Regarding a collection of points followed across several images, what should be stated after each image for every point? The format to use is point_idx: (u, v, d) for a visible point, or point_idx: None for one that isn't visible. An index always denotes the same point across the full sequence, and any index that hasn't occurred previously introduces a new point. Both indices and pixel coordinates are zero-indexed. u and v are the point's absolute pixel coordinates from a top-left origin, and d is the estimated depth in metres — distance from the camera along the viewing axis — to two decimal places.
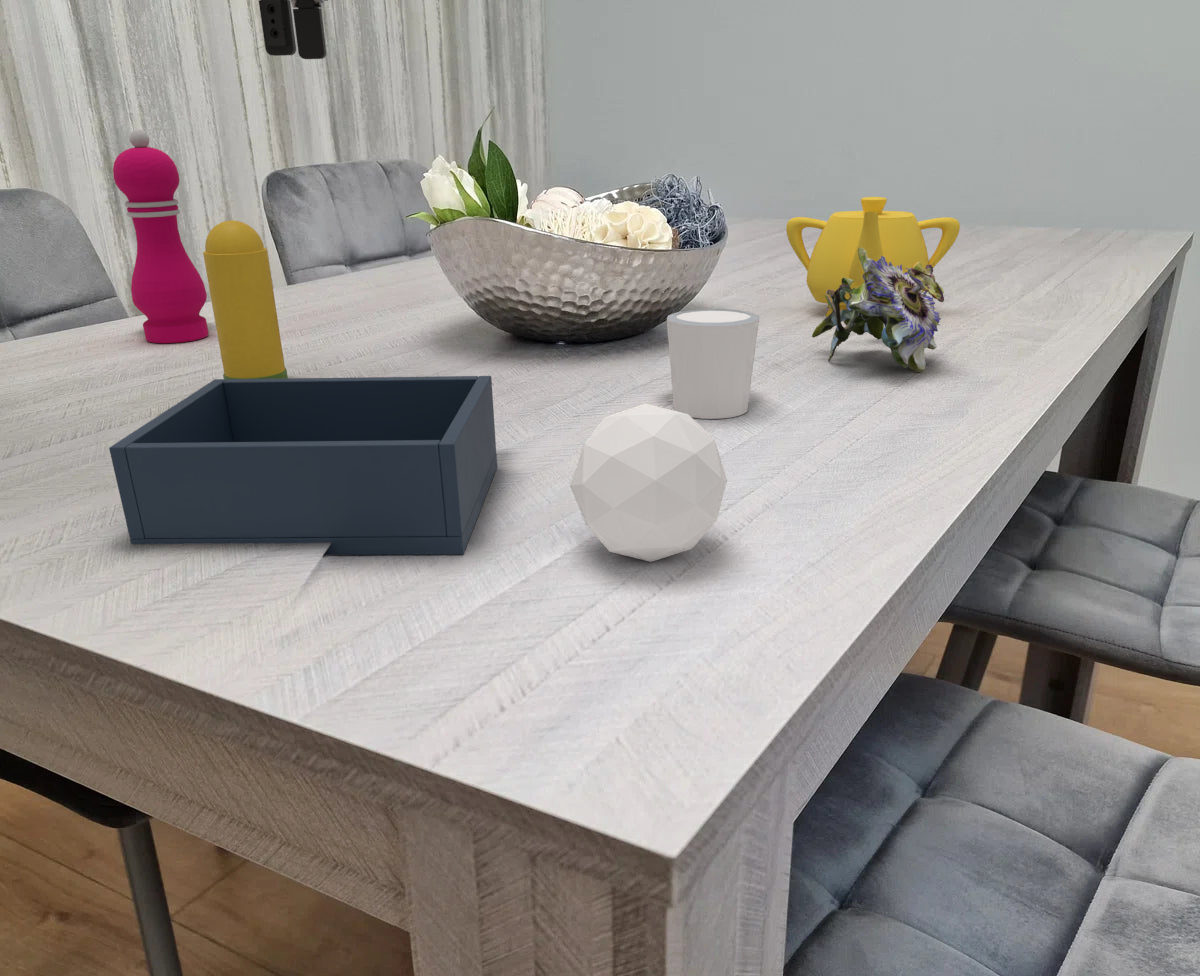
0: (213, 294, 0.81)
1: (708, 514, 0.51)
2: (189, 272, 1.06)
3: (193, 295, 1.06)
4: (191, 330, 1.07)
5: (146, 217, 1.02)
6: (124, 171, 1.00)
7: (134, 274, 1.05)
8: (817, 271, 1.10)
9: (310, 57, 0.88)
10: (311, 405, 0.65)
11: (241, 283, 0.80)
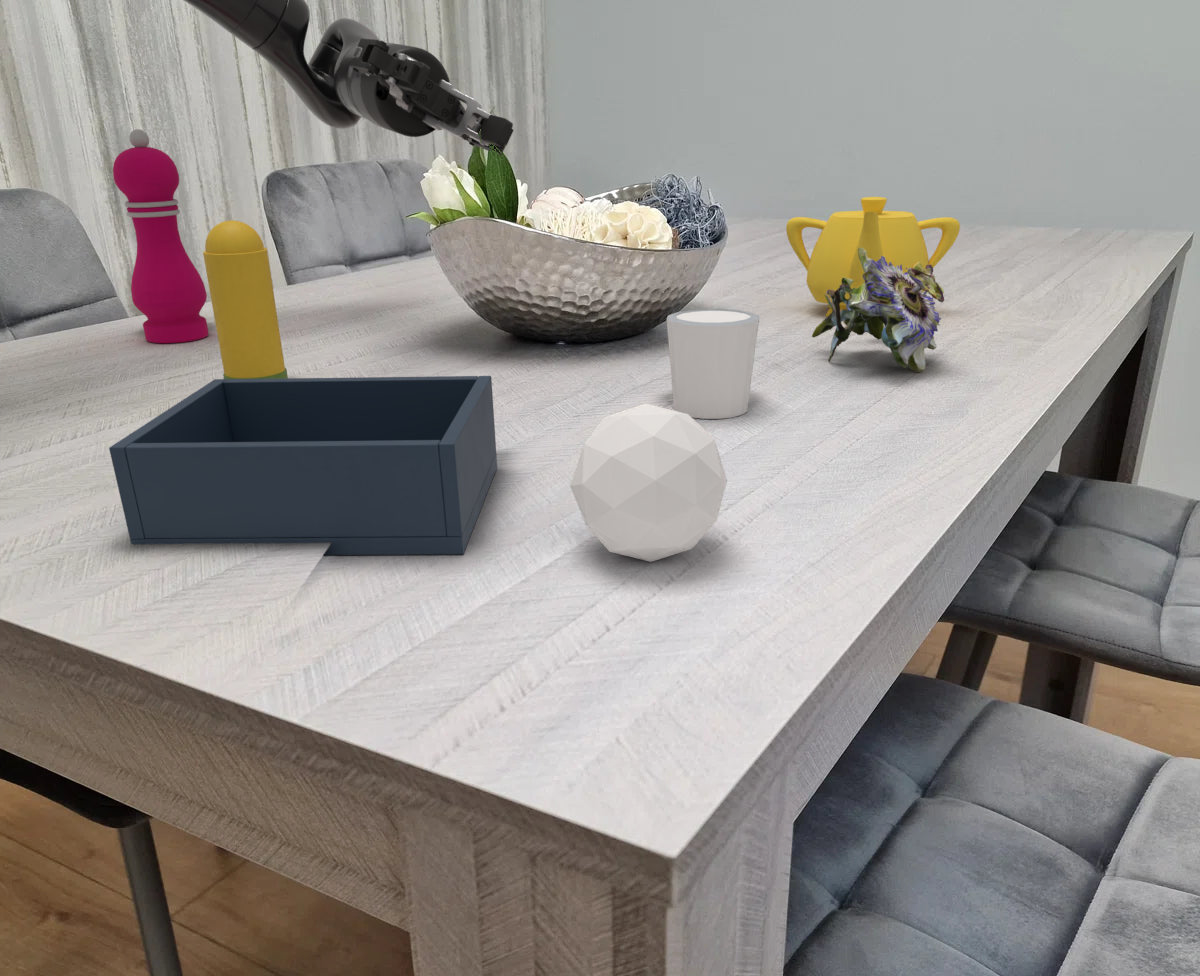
0: (213, 294, 0.81)
1: (708, 514, 0.51)
2: (189, 272, 1.06)
3: (193, 295, 1.06)
4: (191, 330, 1.07)
5: (146, 217, 1.02)
6: (124, 170, 1.00)
7: (134, 274, 1.05)
8: (817, 271, 1.10)
9: (501, 132, 0.90)
10: (311, 405, 0.65)
11: (241, 283, 0.80)
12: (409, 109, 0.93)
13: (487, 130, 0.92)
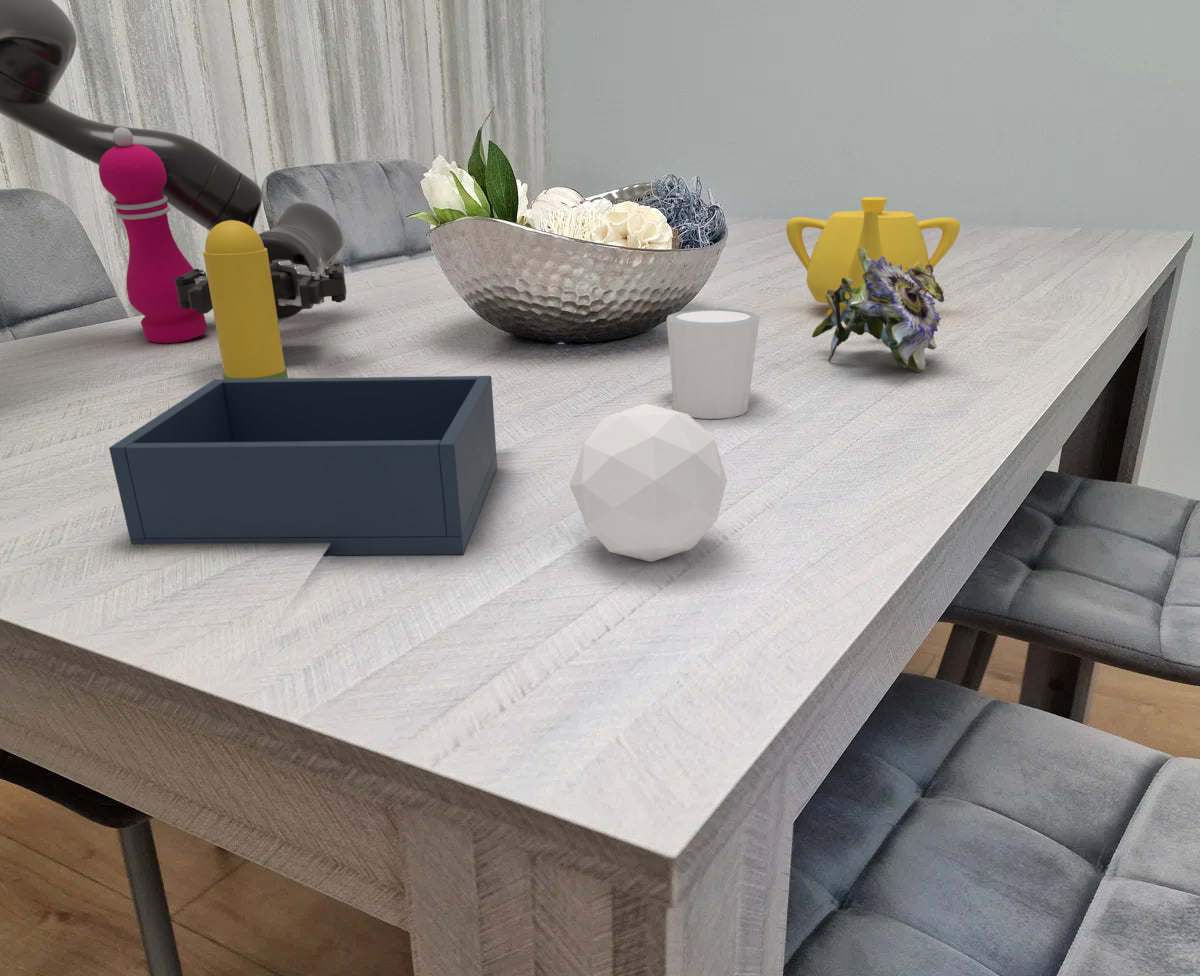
0: (213, 294, 0.81)
1: (708, 514, 0.51)
2: (183, 271, 1.05)
3: None
4: (190, 328, 1.07)
5: (136, 219, 1.01)
6: (110, 174, 0.98)
7: (129, 275, 1.04)
8: (817, 271, 1.10)
9: (300, 297, 0.87)
10: (311, 405, 0.65)
11: (241, 283, 0.80)
12: None
13: None
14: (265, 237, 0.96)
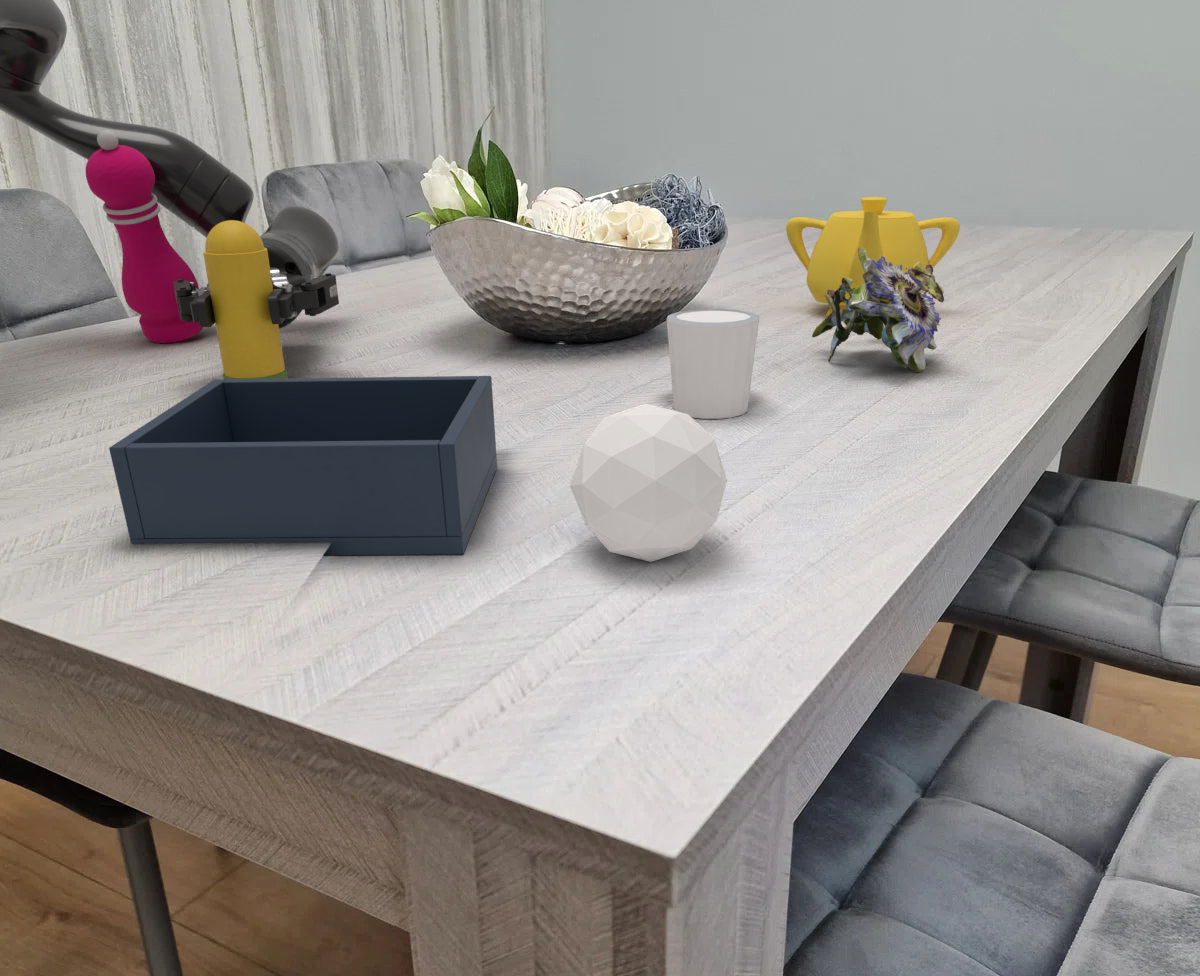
0: (213, 294, 0.81)
1: (708, 514, 0.51)
2: (178, 271, 1.04)
3: None
4: (189, 327, 1.07)
5: (128, 224, 0.99)
6: (98, 181, 0.96)
7: (124, 277, 1.03)
8: (817, 271, 1.10)
9: (270, 312, 0.81)
10: (311, 405, 0.65)
11: (241, 284, 0.80)
12: None
13: None
14: None
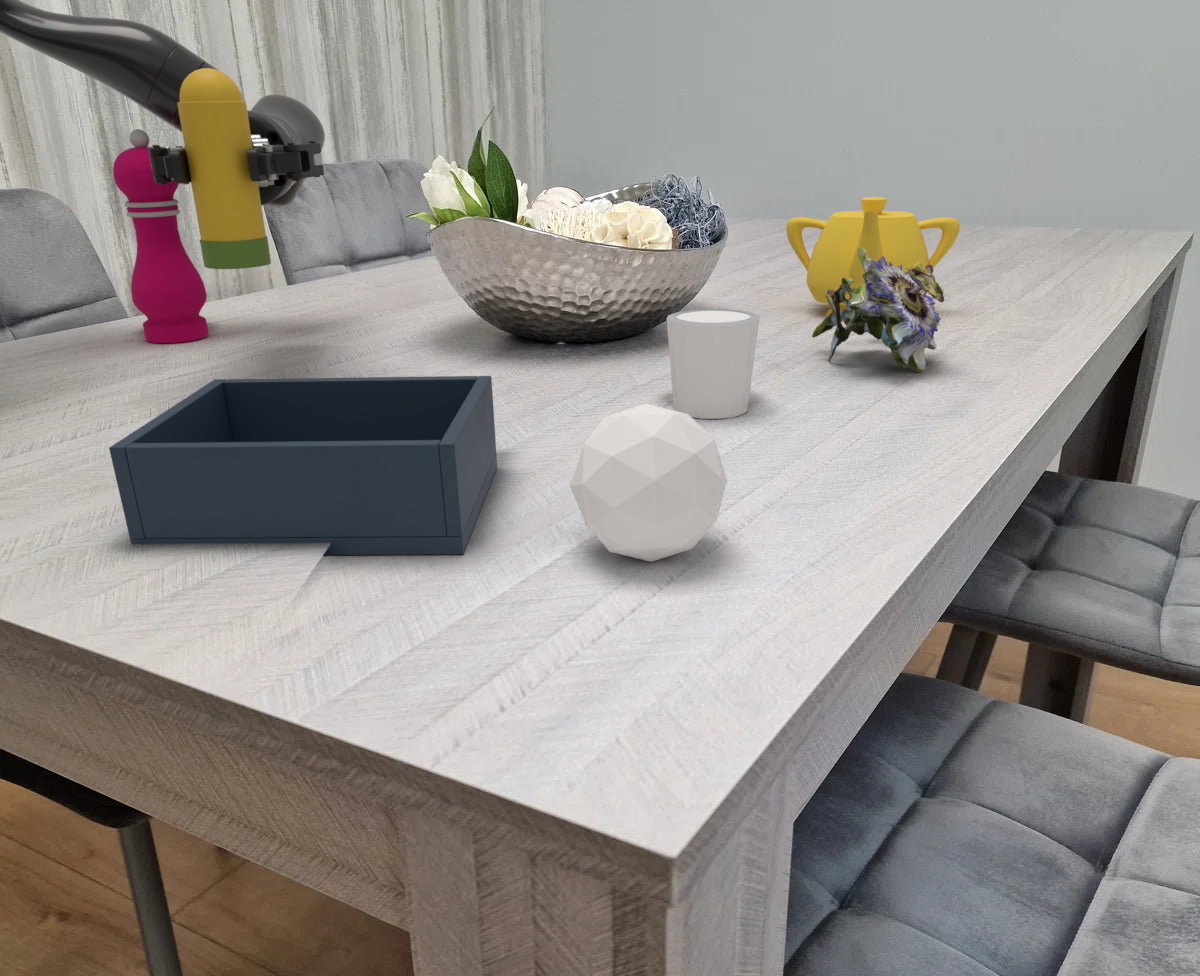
0: (188, 148, 0.76)
1: (708, 514, 0.51)
2: (189, 272, 1.06)
3: (193, 295, 1.06)
4: (191, 330, 1.07)
5: (146, 217, 1.02)
6: (124, 170, 1.00)
7: (134, 274, 1.05)
8: (817, 271, 1.10)
9: (249, 167, 0.76)
10: (311, 405, 0.65)
11: (218, 135, 0.75)
12: None
13: None
14: None
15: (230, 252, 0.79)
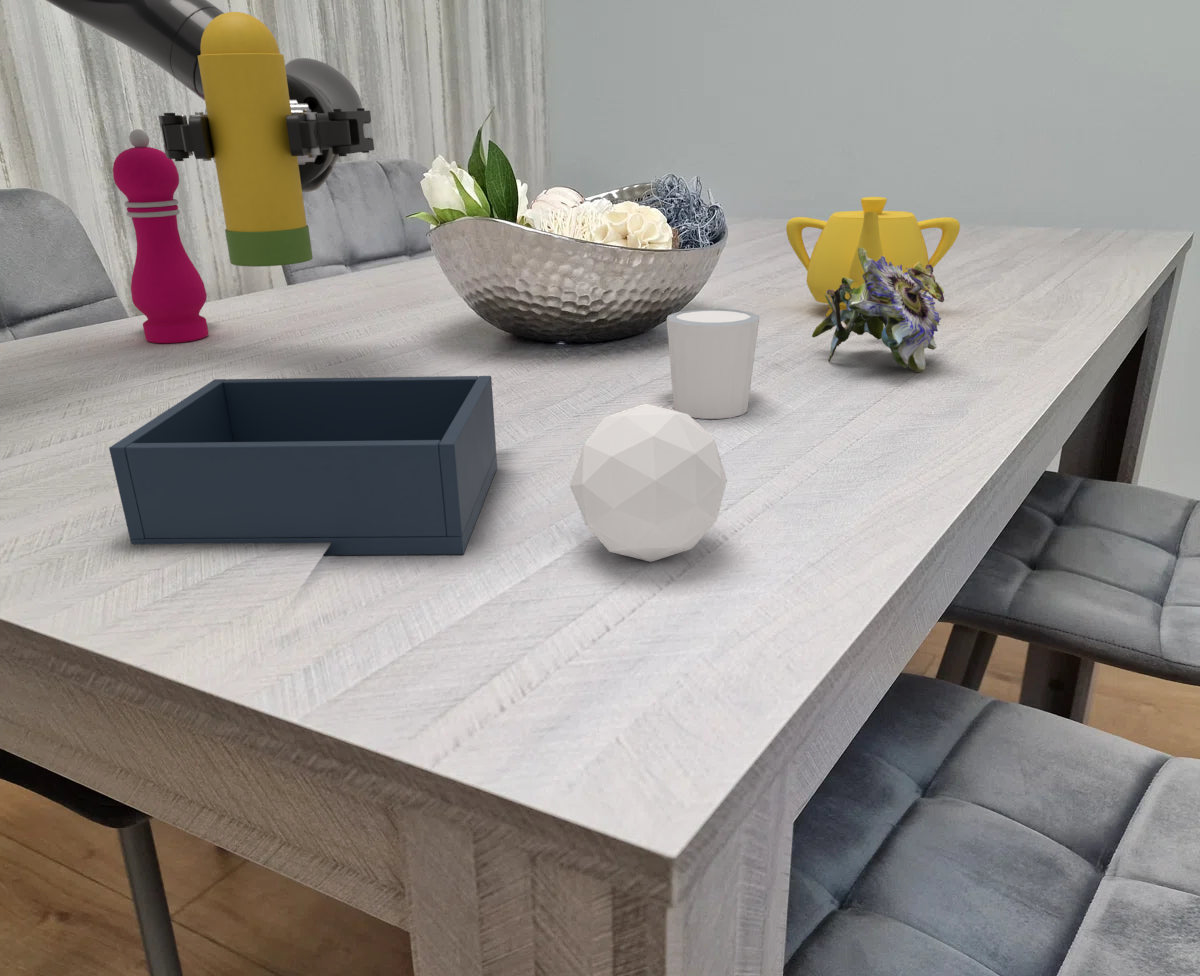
0: (211, 114, 0.60)
1: (708, 514, 0.51)
2: (189, 272, 1.06)
3: (193, 295, 1.06)
4: (191, 330, 1.07)
5: (146, 217, 1.02)
6: (124, 170, 1.00)
7: (134, 274, 1.05)
8: (817, 271, 1.10)
9: (289, 138, 0.60)
10: (311, 405, 0.65)
11: (250, 97, 0.60)
12: None
13: None
14: None
15: (263, 246, 0.63)
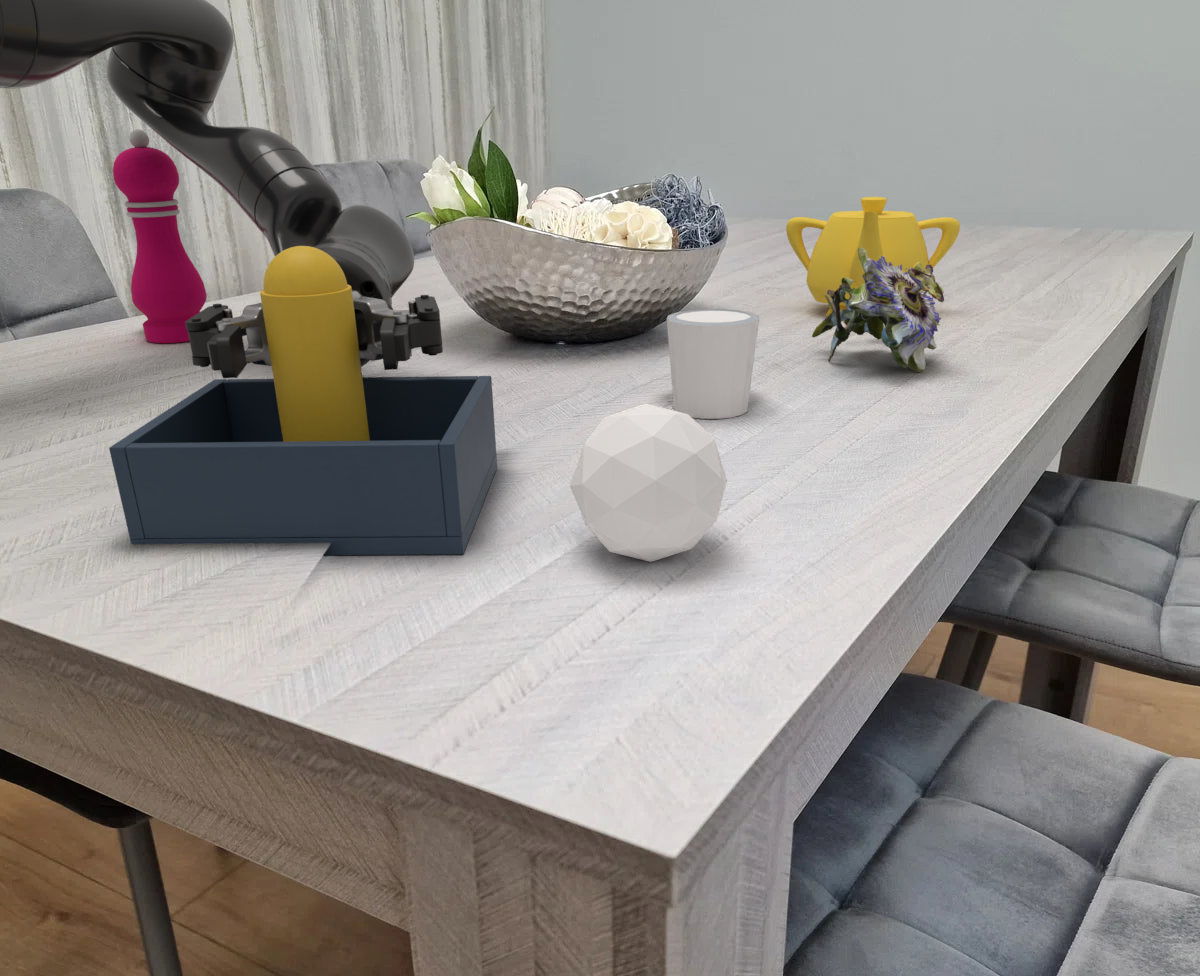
0: (274, 353, 0.56)
1: (708, 514, 0.51)
2: (189, 272, 1.06)
3: (193, 295, 1.06)
4: None
5: (146, 217, 1.02)
6: (124, 170, 1.00)
7: (134, 274, 1.05)
8: (817, 271, 1.10)
9: (382, 353, 0.56)
10: None
11: (317, 338, 0.55)
12: None
13: None
14: None
15: None
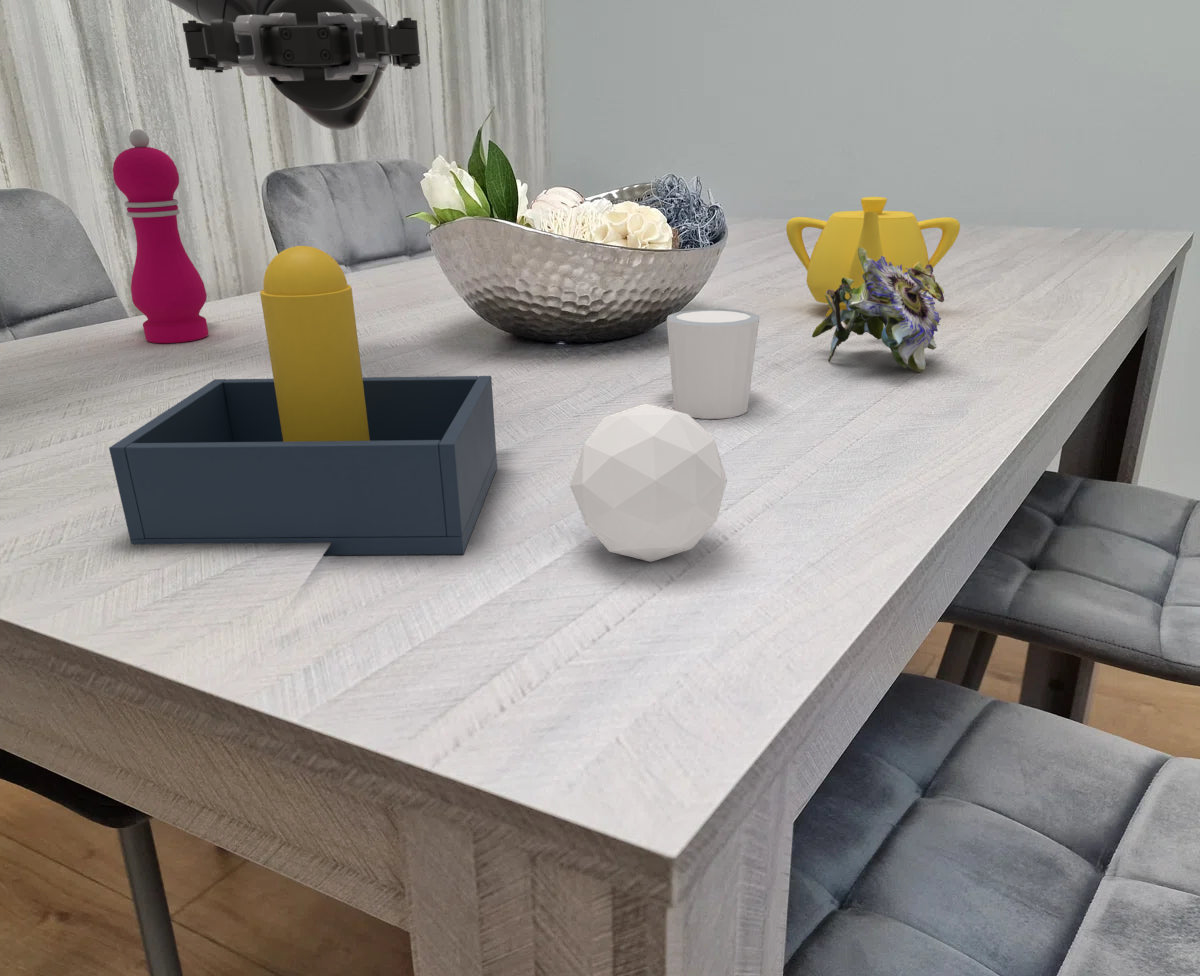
0: (274, 353, 0.56)
1: (708, 514, 0.51)
2: (189, 272, 1.06)
3: (193, 295, 1.06)
4: (191, 330, 1.07)
5: (146, 217, 1.02)
6: (124, 170, 1.00)
7: (134, 274, 1.05)
8: (817, 271, 1.10)
9: (363, 40, 0.61)
10: None
11: (317, 338, 0.55)
12: (296, 77, 0.69)
13: None
14: None
15: None
